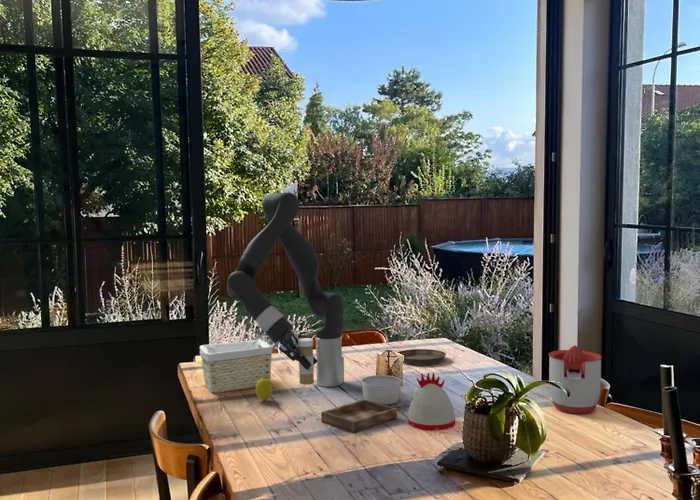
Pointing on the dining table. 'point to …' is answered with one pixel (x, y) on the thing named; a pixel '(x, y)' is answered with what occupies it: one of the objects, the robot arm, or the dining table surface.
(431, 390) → the kitchen timer
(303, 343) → the sprinkles bottle
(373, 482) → the dining table surface
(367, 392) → the ramekin
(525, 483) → the dining table surface
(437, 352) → the plant saucer
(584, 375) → the citrus juicer
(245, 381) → the storage basket
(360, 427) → the serving box
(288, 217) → the robot arm
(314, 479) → the dining table surface
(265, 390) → the lemon
